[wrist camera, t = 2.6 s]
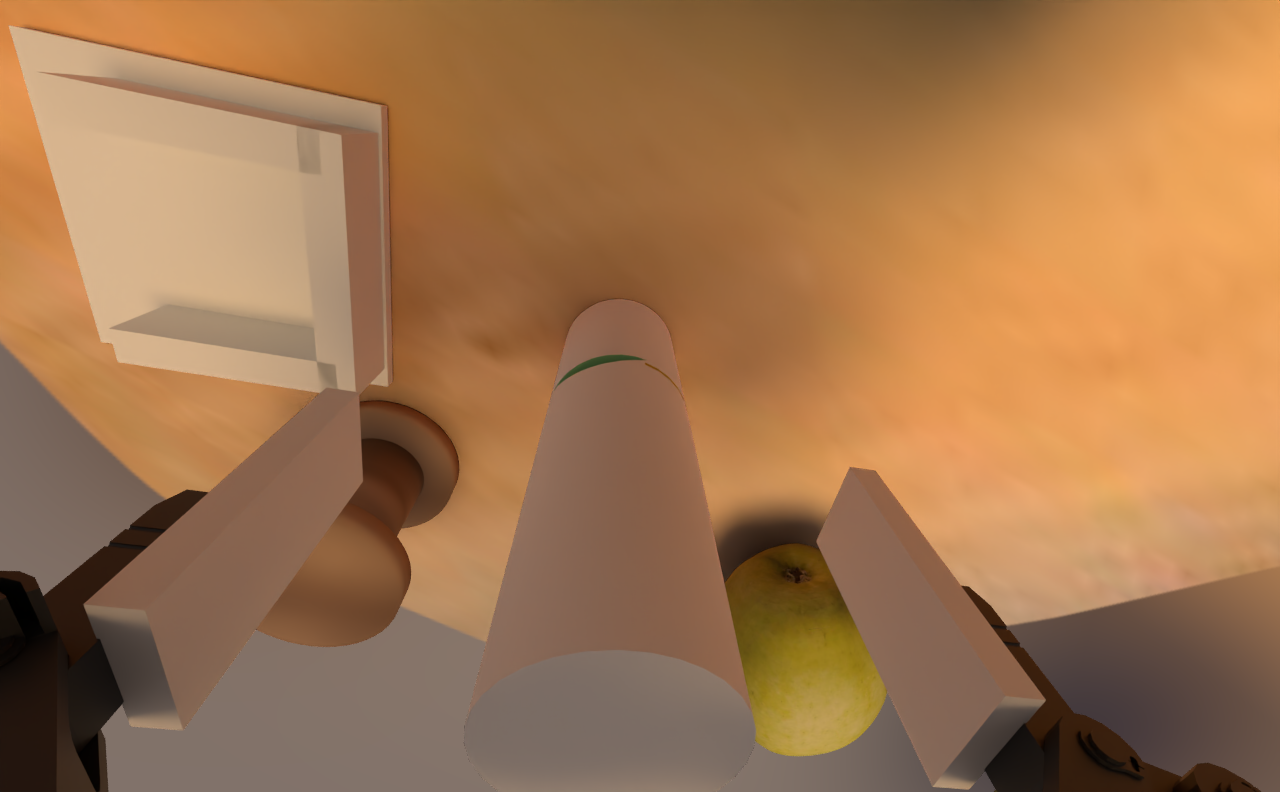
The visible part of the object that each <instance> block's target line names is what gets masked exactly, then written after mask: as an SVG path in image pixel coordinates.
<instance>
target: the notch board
mask: <svg viewBox="0 0 1280 792" xmlns="http://www.w3.org/2000/svg"><path fill="white" fill-rule="evenodd" d="M9 28H10V32H11V35H12V39H13V42H14V45H15V49H16V52H17V56H18V59H19V63H20V66H21V69H22V73H23V76H24V80H25V83H26V86H27V90H28V93H29V97H30V100H31V104H32V107H33V110H34V114H35V117H36V121H37V124H38V128H39V131H40V134H41V138H42V141H43V145H44V148H45V151H46V155H47V158H48V162H49V165H50V169H51V172H52V175H53V179H54V182H55V186H56V189H57V193H58V196H59V199H60V203H61V206H62V210H63V213H64V217H65V220H66V223H67V227H68V230H69V234H70V237H71V240H72V244H73V247H74V251H75V254H76V258H77V261H78V264H79V268H80V271H81V275H82V278H83V282H84V285H85V288H86V292H87V295H88V299H89V302H90V305H91V309H92V312H93V316H94V319H95V323H96V326H97V329H98V333H99V336H100V340H101V342H105V343H111V344H113V347H114V350H115V354H116V357H117V361H118V362H121V363H128V364H134V365H141V366H147V367H154V368H160V369H167V370H174V371H180V372H187V373H193V374H200V375H206V376H213V377H219V378H226V379H232V380H239V381H245V382H252V383H259V384H265V385H272V386H278V387H285V388H291V389H298V390H304V391H311V392H317V393H321V392H322V391H323V390H324V389H325V388H326V387H327V388H333V389H340V390H346V391H353V392H359V395H360V394H361V393H362V392H363V391H364V390H365V389H366V388H367V387H368V385H369V384H373V385H380V386H386V387H388V386H389V385H390V384H391V383H392V382H393V366H392V315H391V264H390V213H389V162H388V112H387V106H385V105H381V104H376V103H372V102H367V101H362V100H358V99H353V98H348V97H344V96H339V95H334V94H330V93H325V92H321V91H316V90H311V89H307V88H302V87H297V86H293V85H288V84H283V83H279V82H274V81H270V80H265V79H260V78H256V77H251V76H246V75H242V74H237V73H233V72H228V71H223V70H219V69H214V68H209V67H205V66H200V65H195V64H191V63H186V62H182V61H177V60H172V59H168V58H163V57H158V56H154V55H149V54H144V53H140V52H135V51H131V50H126V49H121V48H117V47H112V46H107V45H103V44H98V43H93V42H89V41H84V40H80V39H75V38H70V37H66V36H61V35H56V34H52V33H47V32H43V31H38V30H33V29H29V28H23V27H17V26H10V25H9Z"/></svg>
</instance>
